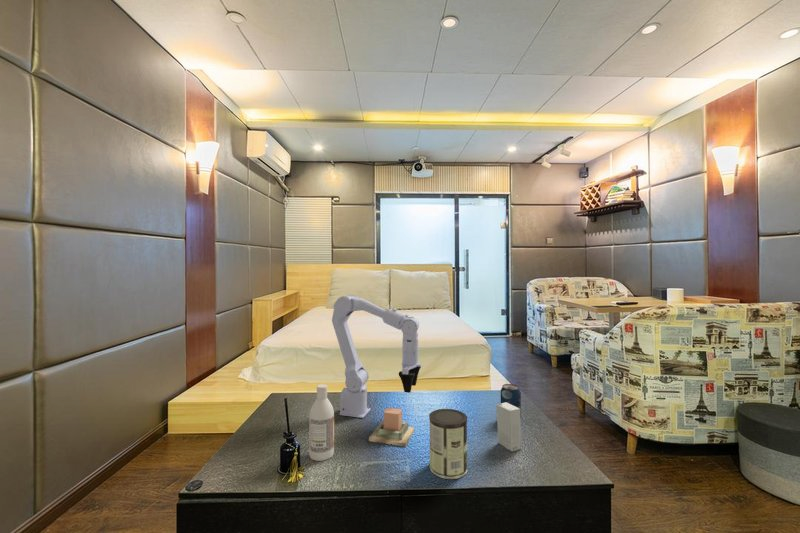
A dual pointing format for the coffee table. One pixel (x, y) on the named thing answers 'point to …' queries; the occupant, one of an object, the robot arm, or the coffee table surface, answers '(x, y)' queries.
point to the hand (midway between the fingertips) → (410, 388)
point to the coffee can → (448, 443)
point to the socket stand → (392, 435)
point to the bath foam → (321, 427)
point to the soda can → (511, 395)
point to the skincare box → (509, 426)
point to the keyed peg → (393, 419)
